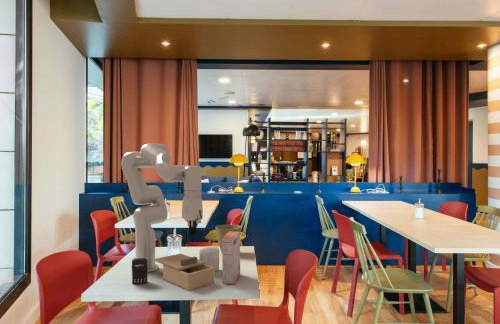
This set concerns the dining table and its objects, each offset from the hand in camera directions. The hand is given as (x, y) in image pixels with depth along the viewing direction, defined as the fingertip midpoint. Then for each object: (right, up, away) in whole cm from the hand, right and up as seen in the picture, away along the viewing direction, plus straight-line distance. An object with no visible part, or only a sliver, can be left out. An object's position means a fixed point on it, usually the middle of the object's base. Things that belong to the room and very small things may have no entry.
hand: (192, 235), depth 162 cm
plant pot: (+13, -22, +52) cm, 57 cm away
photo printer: (+5, -22, +19) cm, 30 cm away
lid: (-8, -14, +9) cm, 19 cm away
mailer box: (-3, -22, +4) cm, 22 cm away
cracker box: (+17, -22, +7) cm, 29 cm away
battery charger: (-24, -22, +2) cm, 33 cm away
